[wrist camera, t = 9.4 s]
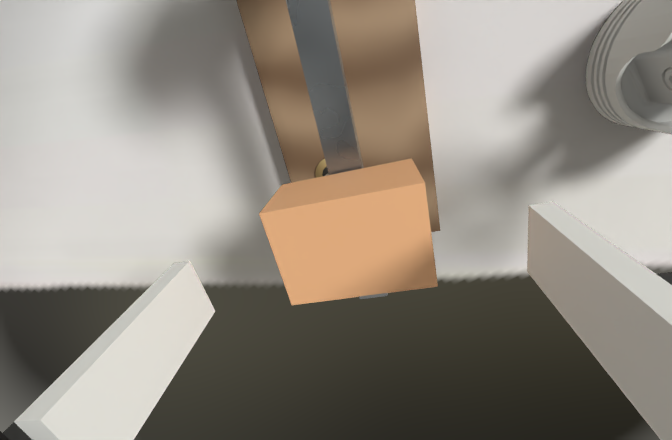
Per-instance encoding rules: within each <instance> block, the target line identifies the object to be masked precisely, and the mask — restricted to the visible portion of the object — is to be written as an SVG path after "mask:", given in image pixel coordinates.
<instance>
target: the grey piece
mask: <svg viewBox="0 0 672 440" xmlns="http://www.w3.org/2000/svg"><path fill="white" fill-rule="evenodd" d="M286 4H287V8H288V12H289V16H290V20H291V24H292V28H293V32H294V36H295V40H296V44H297V48H298V52H299V56H300V60H301V64H302V68H303V72H304V76H305V80H306V84H307V89H308V93H309V97H310V101H311V105H312V109H313V113H314V117H315V121H316V125H317V129H318V133H319V137H320V141H321V145H322V149H323V153H324V157H325V161H326V165H327V169H328V173H329V175H332V174H337V173H342V172H347V171H352V170H357V169H362V168H364V167H363V162H362V157H361V152H360V147H359V142H358V137H357V132H356V127H355V122H354V117H353V112H352V107H351V102H350V97H349V92H348V87H347V82H346V77H345V72H344V67H343V62H342V57H341V52H340V47H339V42H338V37H337V32H336V27H335V22H334V17H333V12H332V7H331V2H330V0H286ZM381 296H387V293H382V294H375V295H367V296H359V298H360V299H365V298H373V297H381Z"/></svg>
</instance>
